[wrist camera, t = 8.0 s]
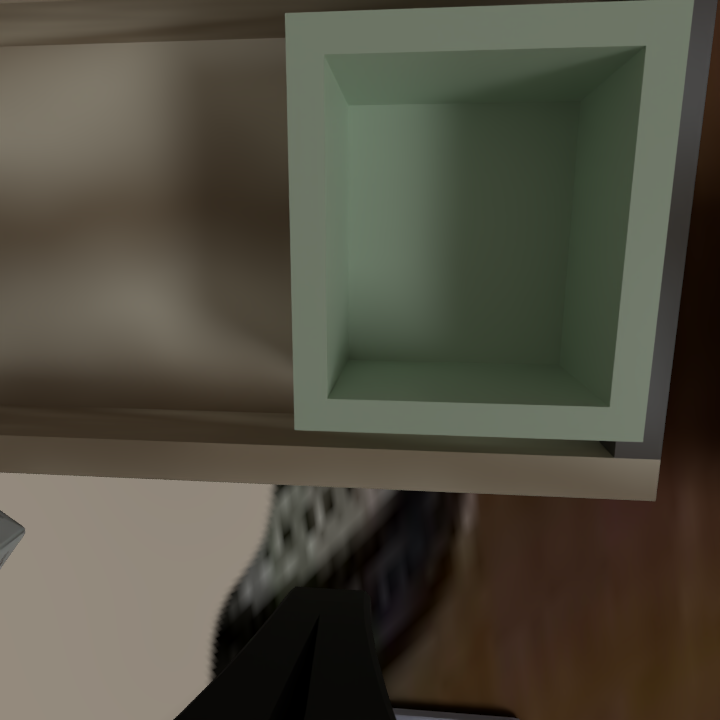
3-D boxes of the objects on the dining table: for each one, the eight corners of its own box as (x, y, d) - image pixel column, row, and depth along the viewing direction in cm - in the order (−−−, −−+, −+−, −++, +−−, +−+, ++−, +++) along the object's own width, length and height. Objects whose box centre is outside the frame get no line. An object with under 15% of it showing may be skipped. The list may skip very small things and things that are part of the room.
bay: (605, 448, 19) (655, 501, 15) (6, 426, 21) (-86, 468, 17) (652, -7, 16) (727, -86, 12) (-50, 18, 18) (-177, -43, 14)
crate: (577, 384, 18) (643, 442, 13) (327, 377, 18) (294, 430, 13) (603, 77, 16) (694, -2, 11) (324, 83, 16) (284, 12, 11)
